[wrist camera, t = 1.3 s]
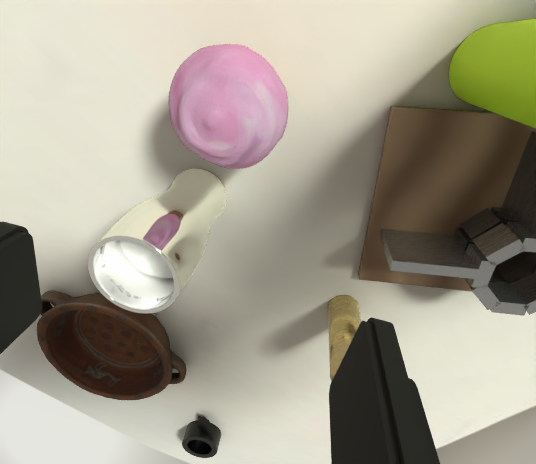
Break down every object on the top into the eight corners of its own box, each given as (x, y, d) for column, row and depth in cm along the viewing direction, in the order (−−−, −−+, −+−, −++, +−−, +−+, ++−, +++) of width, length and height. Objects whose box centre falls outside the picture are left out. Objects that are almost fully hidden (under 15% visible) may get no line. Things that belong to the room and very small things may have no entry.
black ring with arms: (170, 429, 59) (163, 446, 56) (204, 406, 55) (198, 423, 52) (205, 450, 61) (200, 468, 58) (240, 430, 56) (236, 448, 54)
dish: (166, 394, 55) (153, 424, 50) (36, 329, 51) (9, 355, 47) (216, 331, 46) (205, 360, 42) (64, 248, 43) (35, 271, 39)
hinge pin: (360, 296, 40) (372, 366, 31) (356, 319, 42) (365, 391, 33) (330, 293, 40) (332, 361, 32) (326, 316, 42) (328, 386, 33)
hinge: (587, 134, 28) (648, 154, 23) (518, 278, 35) (553, 318, 30) (404, 123, 30) (422, 140, 24) (374, 263, 37) (382, 299, 31)
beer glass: (157, 174, 36) (64, 246, 23) (215, 155, 34) (151, 222, 21) (185, 230, 39) (117, 323, 26) (241, 215, 37) (197, 307, 24)
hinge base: (615, 118, 28) (624, 120, 27) (528, 291, 37) (533, 297, 36) (391, 106, 30) (393, 108, 29) (358, 273, 39) (359, 279, 38)
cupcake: (185, 116, 33) (136, 141, 24) (221, 23, 29) (178, 12, 20) (265, 162, 34) (247, 202, 25) (312, 78, 30) (309, 92, 21)
